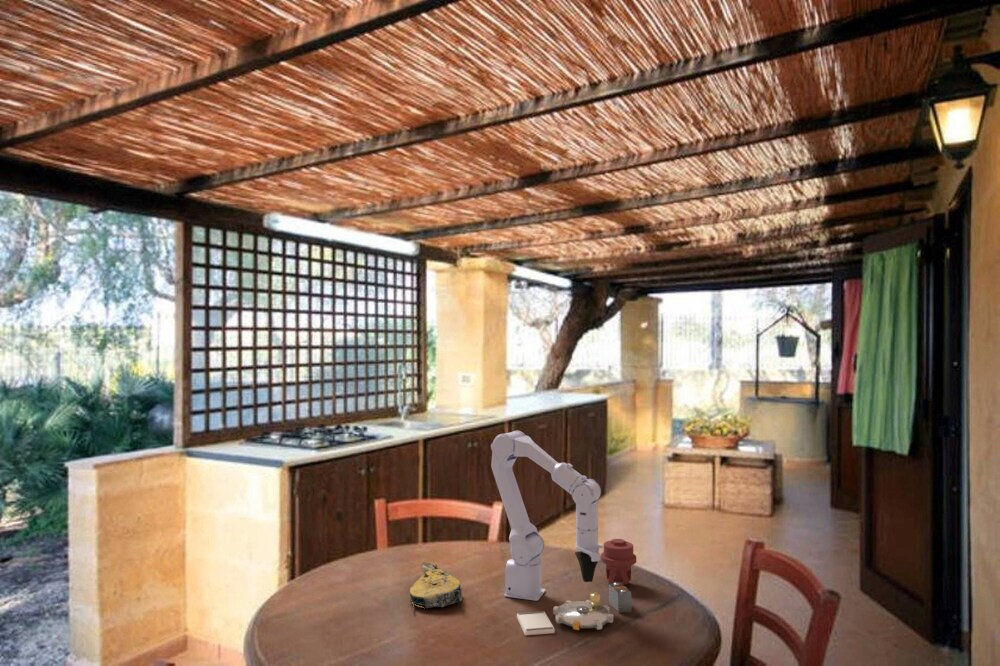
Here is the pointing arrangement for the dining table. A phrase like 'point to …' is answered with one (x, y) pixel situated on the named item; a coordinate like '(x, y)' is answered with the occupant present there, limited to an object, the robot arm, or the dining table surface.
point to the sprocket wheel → (583, 613)
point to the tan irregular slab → (435, 588)
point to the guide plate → (535, 623)
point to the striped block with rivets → (620, 597)
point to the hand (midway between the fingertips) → (587, 581)
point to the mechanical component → (618, 560)
